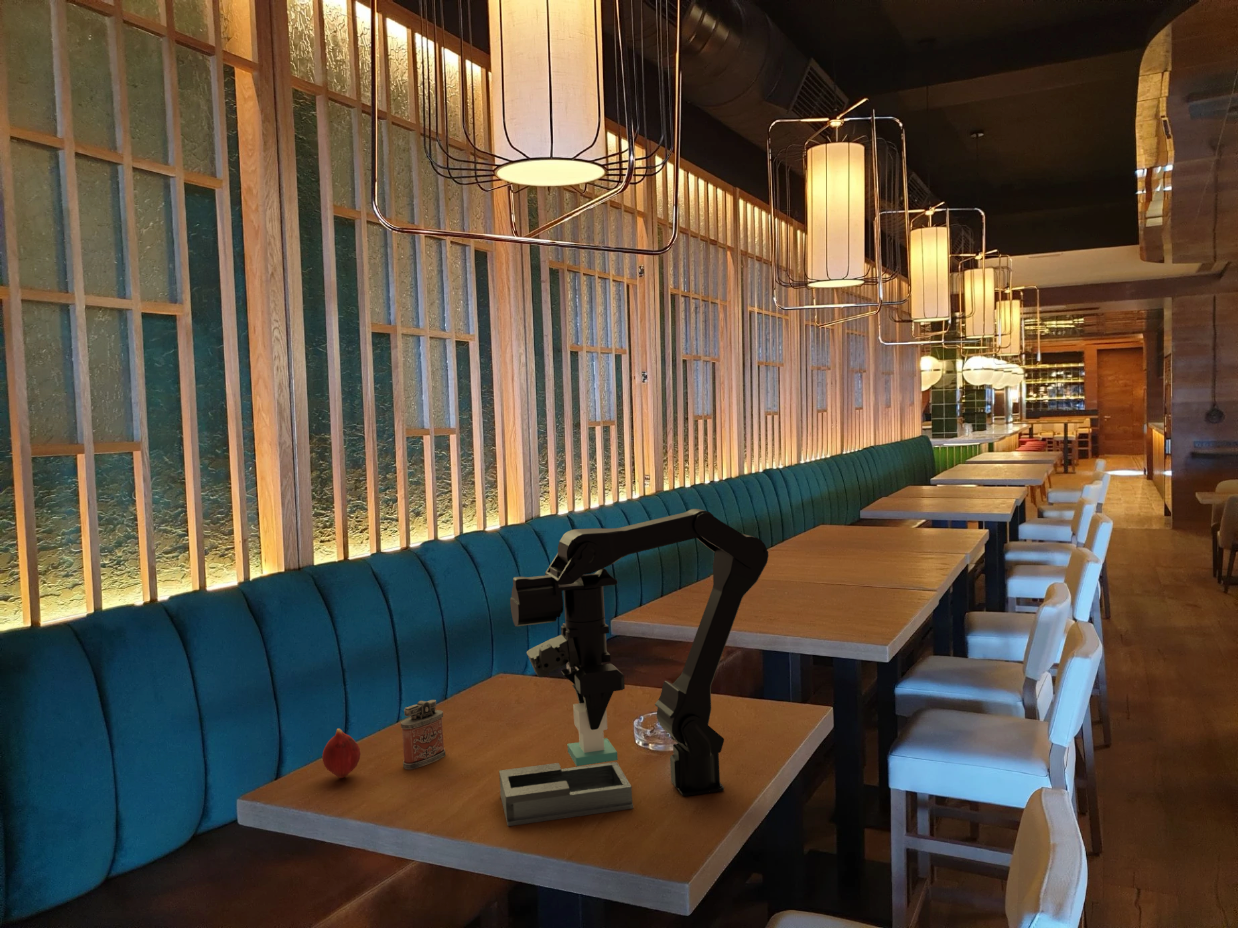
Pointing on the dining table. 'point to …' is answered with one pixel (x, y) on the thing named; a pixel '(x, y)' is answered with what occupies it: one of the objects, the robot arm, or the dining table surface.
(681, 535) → the robot arm
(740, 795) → the dining table surface
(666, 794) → the dining table surface
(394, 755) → the dining table surface
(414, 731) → the lighter
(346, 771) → the onion
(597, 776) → the keyhole guide
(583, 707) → the slider
